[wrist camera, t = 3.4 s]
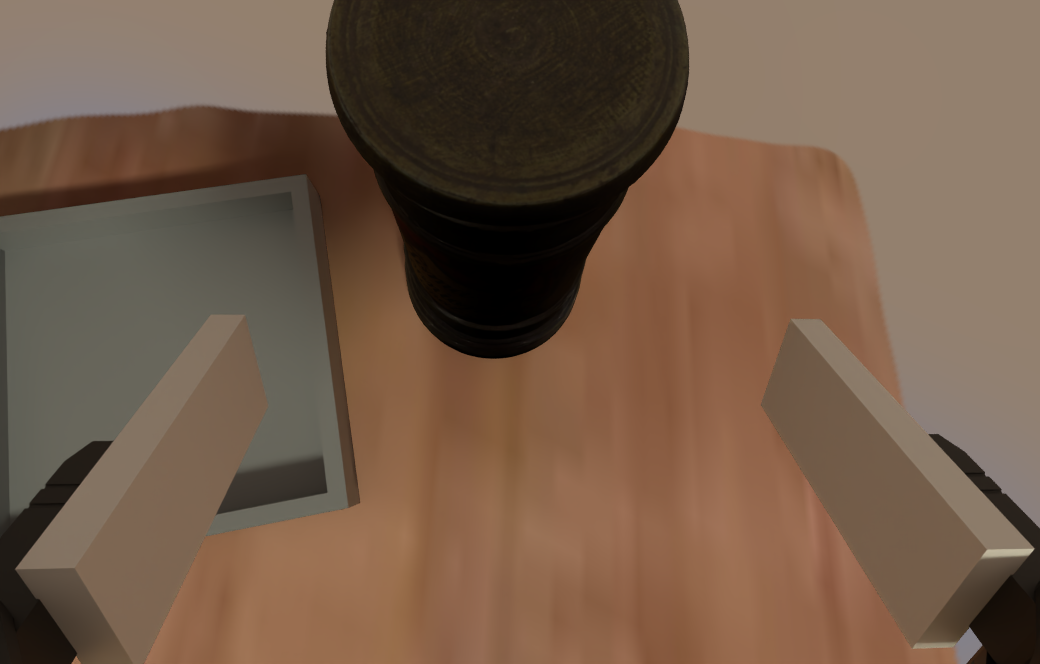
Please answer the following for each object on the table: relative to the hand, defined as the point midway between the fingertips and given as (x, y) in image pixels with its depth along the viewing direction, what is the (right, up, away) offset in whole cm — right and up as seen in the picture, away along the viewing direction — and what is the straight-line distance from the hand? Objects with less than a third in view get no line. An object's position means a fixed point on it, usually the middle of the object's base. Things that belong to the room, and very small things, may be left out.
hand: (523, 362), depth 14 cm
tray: (-17, -1, +14) cm, 22 cm away
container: (-2, +4, +16) cm, 17 cm away
